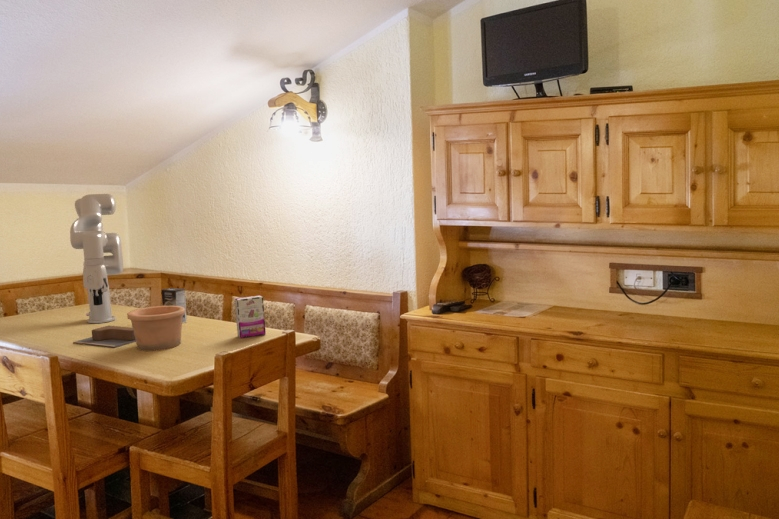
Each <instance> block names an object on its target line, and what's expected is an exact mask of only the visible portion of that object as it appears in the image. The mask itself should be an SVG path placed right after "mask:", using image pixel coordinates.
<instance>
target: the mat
mask: <svg viewBox="0 0 779 519" xmlns="http://www.w3.org/2000/svg"><path fill="white" fill-rule="evenodd" d="M72 343H73V344H74V343H78V344H77V345H83V344H85V345H86V346H91V347H92V346H94V347H100V348H101V347H102V348H111V349H115V348H116V349H117V348H119V347H122V346H125V345H129V344H133V343H136V340H132V341H130V340H120V339H106V340H101V341H97V340H92V336H90V337H86V338H83V339H80V340H75V341H73V342H72Z"/></svg>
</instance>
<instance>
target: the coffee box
mask: <svg viewBox="0 0 779 519" xmlns="http://www.w3.org/2000/svg"><path fill="white" fill-rule="evenodd" d="M161 300H162V303H161V304H162V306H181V307H184V308H185V313H184V314H183V315H182V324H184V323H183V322H185V323H187V322H188V320H187V318H188V317H187V302H186V301H187V300H186V288H178V287H176V288H175V287H169V288H164V289H161ZM186 321H187V322H186Z"/></svg>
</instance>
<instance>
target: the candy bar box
mask: <svg viewBox="0 0 779 519" xmlns="http://www.w3.org/2000/svg"><path fill="white" fill-rule="evenodd" d="M264 306H265V305H264V296H263V295H254V296H253V295H252V296H245V297H237V298H234V307H235V309H234V310H235V318H236V319H235V320H236V321H235V323H236V332H237V333H236V334H237V337H238V338H239V339H244V338H250V337H251V338H252V337H258V336H259V337H260V336H264V335H266V321H265V307H264Z"/></svg>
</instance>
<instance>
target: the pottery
mask: <svg viewBox="0 0 779 519" xmlns="http://www.w3.org/2000/svg"><path fill="white" fill-rule="evenodd" d="M184 313H185V308H184V307H181V306H163V305H158V306H156V305H155V306H149V307H142V308H137V309H134V310H131V311H129V312H127V314H126V315H127V316H126V317H127V320H129V321H131V326H132V327H131V328H133V331H134V335H135V339H136V342H135V343H136V348H137V349H138V350H139V351H144V352H155V351H156V350H157V351H163V350H164V349H165V350H169V349H173V348H176V347H178V346H179V345H181V344H182V329H183V323H182V315H183V314H184Z"/></svg>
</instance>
